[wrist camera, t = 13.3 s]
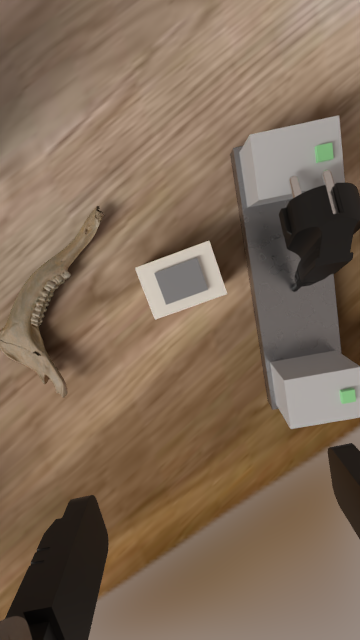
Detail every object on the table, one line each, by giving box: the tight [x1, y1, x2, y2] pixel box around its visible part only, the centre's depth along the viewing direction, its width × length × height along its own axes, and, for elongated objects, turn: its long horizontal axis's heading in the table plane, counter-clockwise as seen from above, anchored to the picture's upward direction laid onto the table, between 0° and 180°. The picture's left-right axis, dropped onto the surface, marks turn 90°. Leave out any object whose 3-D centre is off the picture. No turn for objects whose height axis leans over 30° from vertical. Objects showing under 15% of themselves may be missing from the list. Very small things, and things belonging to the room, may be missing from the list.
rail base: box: [230, 146, 341, 410], centre depth 34 cm, size 27×8×2 cm, turn 11°
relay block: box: [135, 241, 227, 319], centre depth 32 cm, size 5×7×6 cm
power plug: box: [279, 170, 360, 292], centre depth 28 cm, size 6×8×12 cm
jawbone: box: [0, 206, 104, 397], centre depth 35 cm, size 9×20×2 cm, turn 166°
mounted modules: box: [239, 115, 360, 429], centre depth 31 cm, size 26×7×5 cm, turn 11°
